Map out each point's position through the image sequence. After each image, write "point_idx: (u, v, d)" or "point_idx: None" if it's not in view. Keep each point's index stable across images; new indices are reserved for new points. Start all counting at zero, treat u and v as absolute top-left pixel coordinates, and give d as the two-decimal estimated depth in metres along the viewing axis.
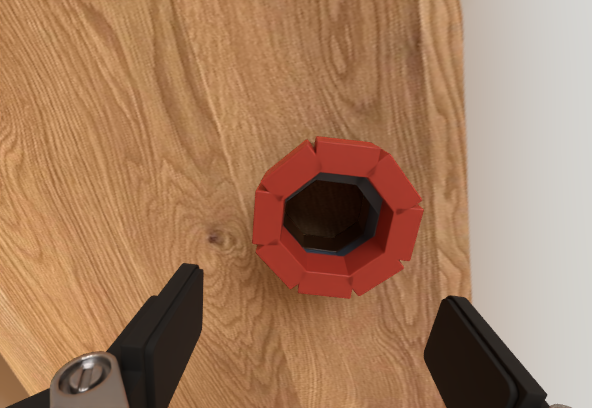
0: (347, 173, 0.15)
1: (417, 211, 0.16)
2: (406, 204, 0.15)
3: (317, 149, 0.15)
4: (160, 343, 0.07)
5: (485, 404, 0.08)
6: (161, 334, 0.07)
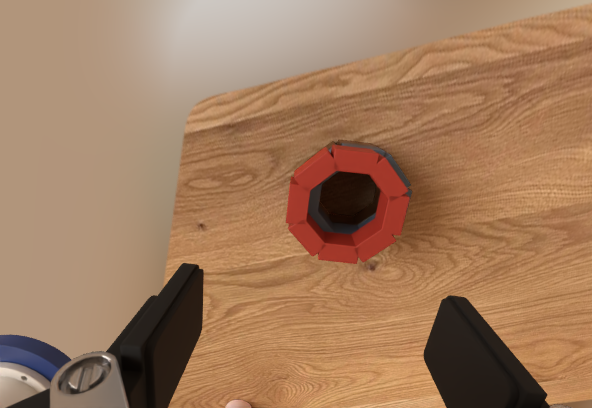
0: (307, 204, 0.22)
1: (336, 153, 0.21)
2: (330, 162, 0.21)
3: (291, 222, 0.23)
4: (160, 343, 0.07)
5: (485, 404, 0.08)
6: (161, 334, 0.07)
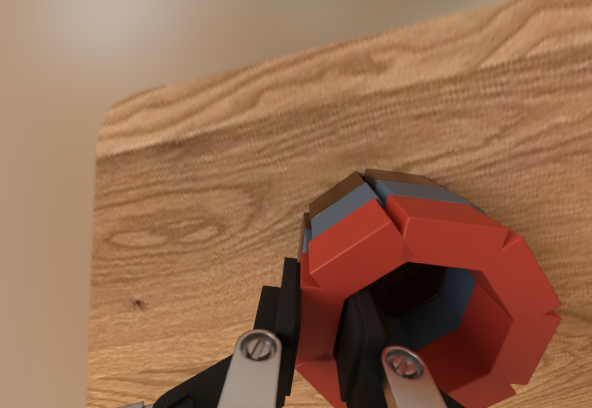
0: (336, 325, 0.10)
1: (410, 226, 0.09)
2: (395, 245, 0.09)
3: (301, 357, 0.11)
4: None
5: (349, 351, 0.09)
6: None
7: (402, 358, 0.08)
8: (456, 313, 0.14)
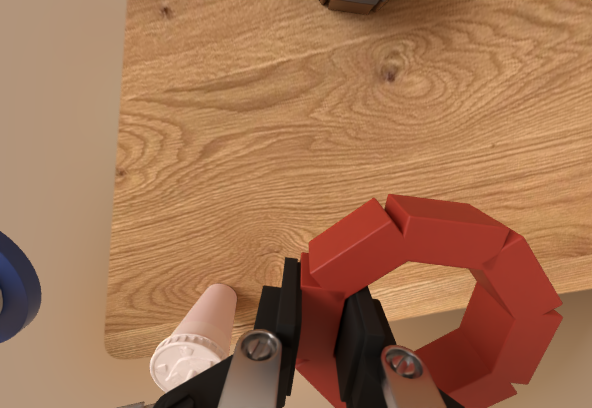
0: (336, 325, 0.10)
1: (411, 225, 0.09)
2: (395, 245, 0.09)
3: (301, 357, 0.11)
4: None
5: (348, 351, 0.09)
6: (301, 316, 0.09)
7: (401, 358, 0.08)
8: None
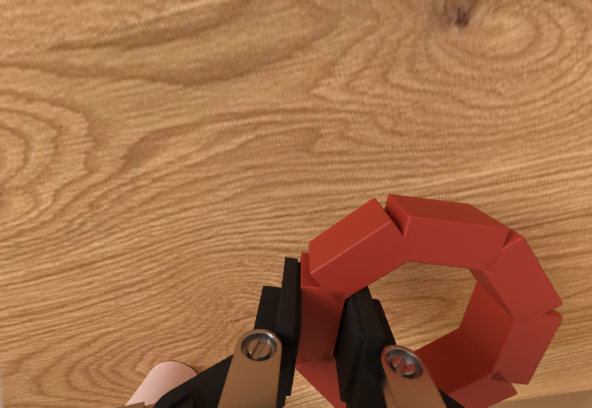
0: (337, 325, 0.10)
1: (411, 226, 0.09)
2: (395, 245, 0.09)
3: (301, 357, 0.11)
4: None
5: (348, 351, 0.09)
6: (301, 316, 0.09)
7: (401, 358, 0.08)
8: None
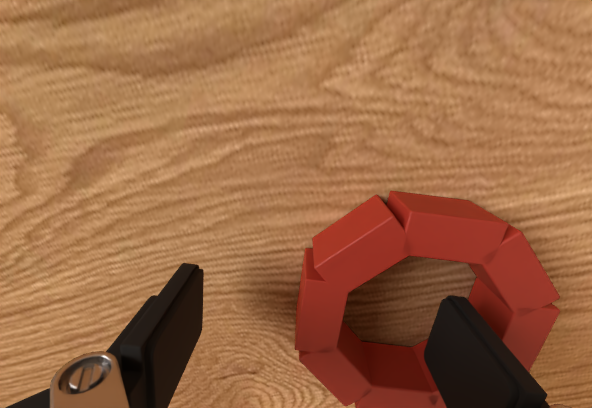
0: (340, 318, 0.11)
1: (412, 221, 0.09)
2: (397, 239, 0.09)
3: (305, 349, 0.11)
4: (160, 343, 0.07)
5: (485, 404, 0.08)
6: (161, 334, 0.07)
7: None
8: None
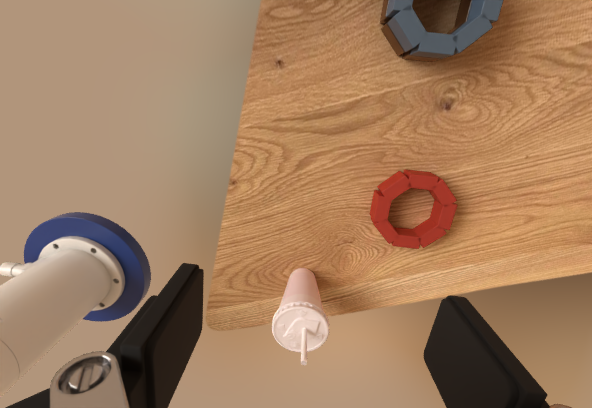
0: (388, 209, 0.34)
1: (411, 177, 0.33)
2: (406, 182, 0.33)
3: (377, 221, 0.35)
4: (160, 343, 0.07)
5: (485, 404, 0.08)
6: (161, 334, 0.07)
7: None
8: (477, 13, 0.26)
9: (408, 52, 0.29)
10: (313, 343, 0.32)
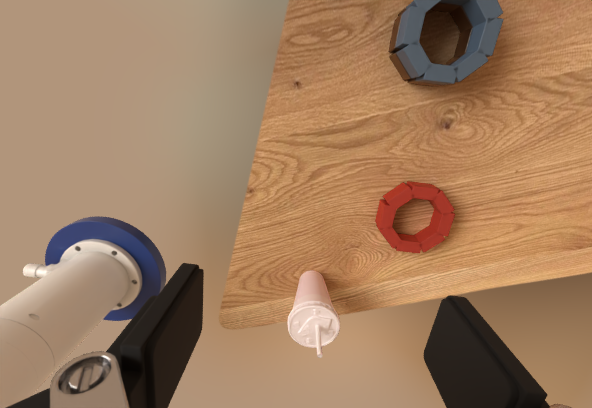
0: (393, 217, 0.37)
1: (414, 188, 0.36)
2: (410, 193, 0.36)
3: (382, 228, 0.38)
4: (160, 343, 0.07)
5: (485, 404, 0.08)
6: (161, 334, 0.07)
7: None
8: (475, 47, 0.29)
9: (414, 78, 0.32)
10: (325, 339, 0.35)
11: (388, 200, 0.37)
